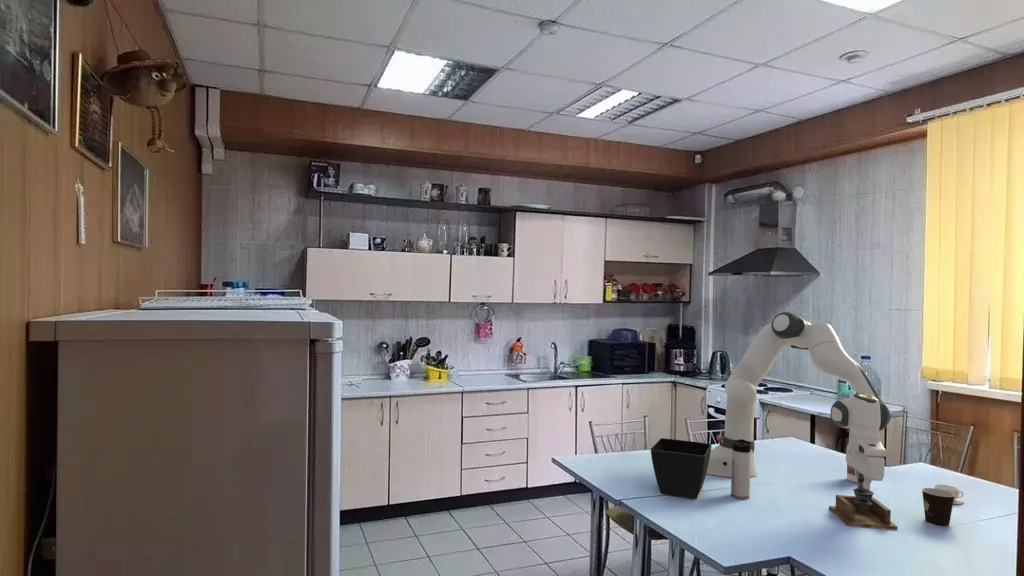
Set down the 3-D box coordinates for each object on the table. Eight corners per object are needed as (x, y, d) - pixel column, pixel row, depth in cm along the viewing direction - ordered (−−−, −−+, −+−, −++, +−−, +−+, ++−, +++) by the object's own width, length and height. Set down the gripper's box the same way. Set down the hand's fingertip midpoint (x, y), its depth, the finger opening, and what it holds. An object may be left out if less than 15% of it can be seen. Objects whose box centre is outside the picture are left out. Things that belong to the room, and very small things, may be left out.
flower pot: (648, 495, 215) (650, 448, 215) (659, 480, 232) (660, 437, 232) (703, 504, 207) (705, 455, 207) (710, 489, 224) (712, 443, 224)
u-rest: (846, 525, 191) (847, 508, 191) (829, 508, 206) (829, 492, 206) (897, 529, 189) (898, 512, 189) (875, 512, 204) (876, 496, 204)
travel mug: (749, 495, 218) (751, 440, 218) (748, 500, 212) (750, 444, 212) (731, 492, 221) (733, 438, 221) (730, 497, 215) (731, 441, 215)
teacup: (935, 502, 217) (935, 489, 217) (926, 494, 226) (926, 481, 226) (968, 506, 214) (968, 493, 214) (957, 498, 223) (958, 485, 223)
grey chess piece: (871, 500, 200) (872, 464, 200) (875, 506, 194) (876, 469, 194) (851, 498, 202) (852, 462, 202) (854, 503, 196) (855, 467, 196)
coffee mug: (954, 530, 191) (955, 498, 191) (921, 523, 195) (922, 493, 195) (951, 518, 200) (952, 489, 200) (920, 513, 205) (921, 483, 205)
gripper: (841, 436, 209) (840, 475, 209) (867, 451, 188) (866, 495, 188) (860, 437, 208) (859, 477, 208) (889, 452, 188) (887, 497, 188)
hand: (862, 486), depth 198 cm, fingers closed on grey chess piece, 3 cm apart
